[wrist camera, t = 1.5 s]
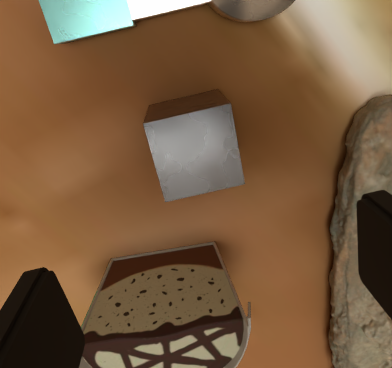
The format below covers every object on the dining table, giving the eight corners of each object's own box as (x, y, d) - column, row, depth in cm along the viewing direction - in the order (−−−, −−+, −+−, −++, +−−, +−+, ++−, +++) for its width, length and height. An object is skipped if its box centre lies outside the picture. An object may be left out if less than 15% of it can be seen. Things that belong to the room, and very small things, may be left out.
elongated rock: (437, 81, 28) (313, 100, 28) (490, 86, 23) (339, 109, 23) (410, 392, 40) (323, 401, 40) (440, 439, 35) (341, 449, 35)
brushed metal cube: (217, 89, 25) (230, 103, 20) (230, 154, 27) (244, 184, 22) (149, 105, 25) (143, 123, 20) (166, 169, 27) (165, 202, 22)
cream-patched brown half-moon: (111, 313, 33) (87, 420, 24) (94, 261, 30) (60, 357, 21) (238, 292, 33) (264, 391, 24) (231, 238, 30) (257, 325, 21)
